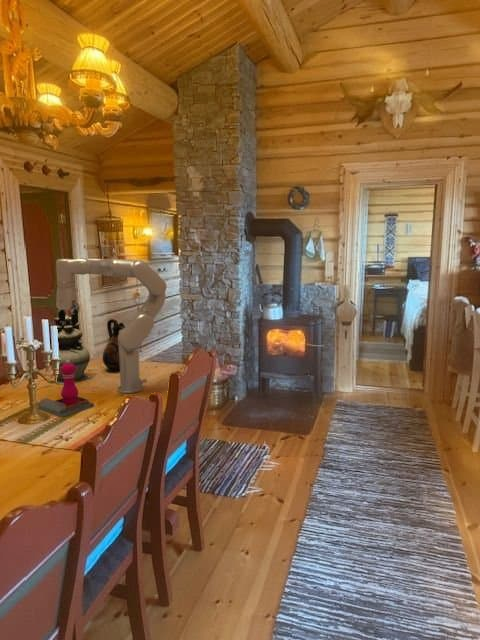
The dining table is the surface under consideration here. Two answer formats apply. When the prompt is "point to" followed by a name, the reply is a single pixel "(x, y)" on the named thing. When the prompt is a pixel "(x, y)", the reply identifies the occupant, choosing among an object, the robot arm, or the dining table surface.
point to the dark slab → (64, 406)
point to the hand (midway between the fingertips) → (68, 321)
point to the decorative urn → (71, 349)
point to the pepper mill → (69, 384)
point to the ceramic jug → (112, 347)
